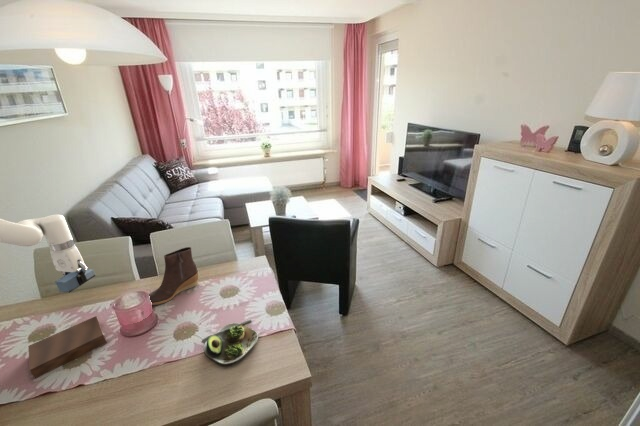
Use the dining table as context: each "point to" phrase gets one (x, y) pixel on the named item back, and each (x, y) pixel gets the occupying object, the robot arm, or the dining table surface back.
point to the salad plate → (230, 343)
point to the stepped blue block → (72, 281)
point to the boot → (176, 276)
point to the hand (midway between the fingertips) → (77, 282)
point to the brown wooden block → (65, 346)
